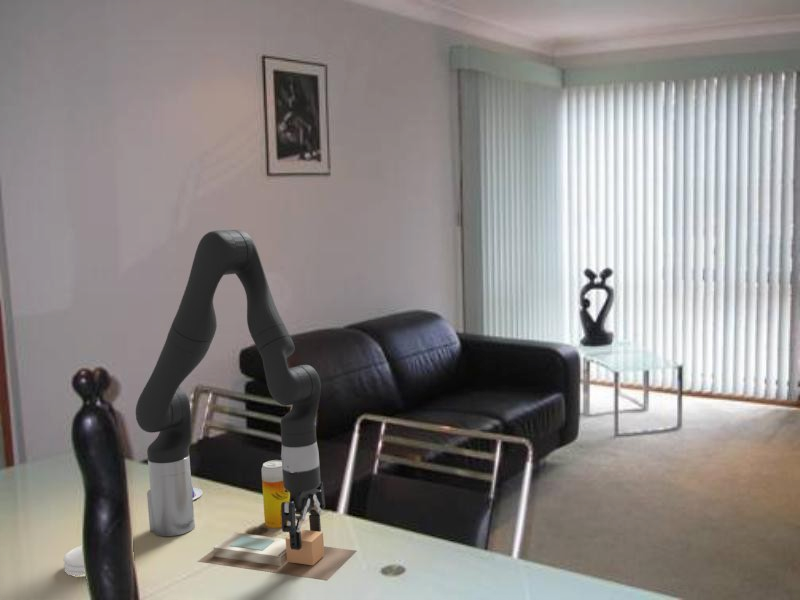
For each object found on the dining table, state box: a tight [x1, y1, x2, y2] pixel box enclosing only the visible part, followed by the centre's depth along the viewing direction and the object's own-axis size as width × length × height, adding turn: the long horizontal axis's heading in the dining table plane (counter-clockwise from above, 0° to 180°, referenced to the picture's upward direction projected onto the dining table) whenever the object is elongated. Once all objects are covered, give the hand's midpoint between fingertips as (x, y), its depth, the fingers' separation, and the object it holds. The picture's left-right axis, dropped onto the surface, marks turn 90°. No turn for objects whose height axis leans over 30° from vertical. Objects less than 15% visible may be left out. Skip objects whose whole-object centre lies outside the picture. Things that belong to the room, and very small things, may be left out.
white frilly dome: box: [63, 545, 85, 576], centre depth 176 cm, size 10×10×4 cm
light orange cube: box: [285, 528, 324, 565], centre depth 172 cm, size 6×5×5 cm
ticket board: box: [197, 532, 357, 581], centre depth 175 cm, size 30×14×3 cm, turn 68°
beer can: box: [260, 459, 290, 529], centre depth 192 cm, size 6×6×15 cm
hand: (306, 540), depth 172 cm, fingers open, 8 cm apart
